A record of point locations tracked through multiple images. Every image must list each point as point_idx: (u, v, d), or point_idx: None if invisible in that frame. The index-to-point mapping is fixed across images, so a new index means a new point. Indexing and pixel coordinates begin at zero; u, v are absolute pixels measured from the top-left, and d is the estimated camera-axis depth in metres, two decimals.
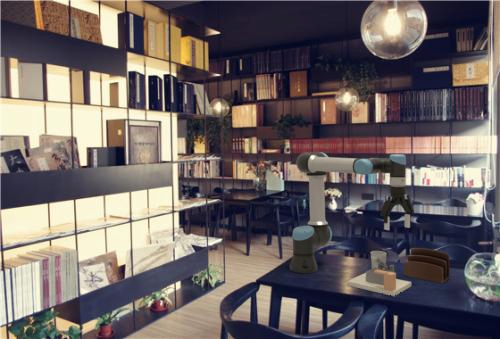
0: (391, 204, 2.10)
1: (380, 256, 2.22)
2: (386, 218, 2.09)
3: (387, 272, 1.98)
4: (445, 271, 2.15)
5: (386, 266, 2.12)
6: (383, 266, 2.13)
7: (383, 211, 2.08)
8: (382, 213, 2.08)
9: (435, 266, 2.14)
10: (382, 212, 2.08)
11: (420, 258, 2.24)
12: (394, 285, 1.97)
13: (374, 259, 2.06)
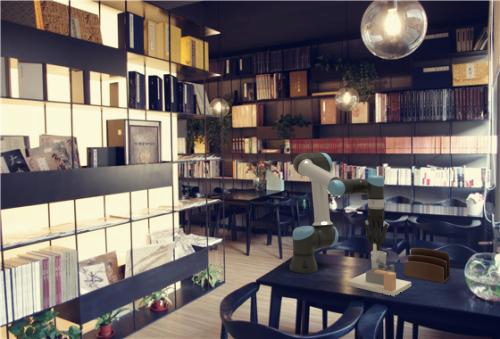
0: None
1: (380, 256, 2.22)
2: (372, 244, 2.06)
3: (387, 272, 1.98)
4: (445, 271, 2.16)
5: (386, 266, 2.12)
6: (383, 266, 2.13)
7: None
8: None
9: (435, 266, 2.14)
10: None
11: (420, 258, 2.24)
12: (394, 285, 1.97)
13: (374, 260, 2.06)
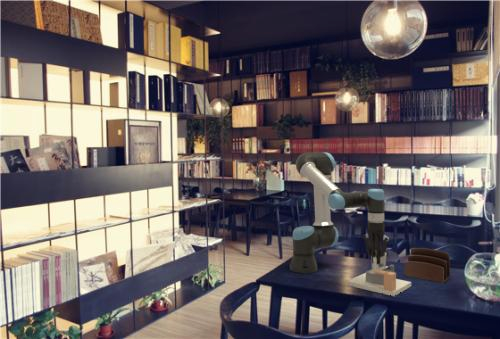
0: None
1: None
2: (372, 258, 2.06)
3: (387, 272, 1.98)
4: (445, 271, 2.16)
5: (386, 269, 2.11)
6: None
7: None
8: None
9: (436, 266, 2.15)
10: None
11: (420, 258, 2.24)
12: (394, 285, 1.97)
13: None
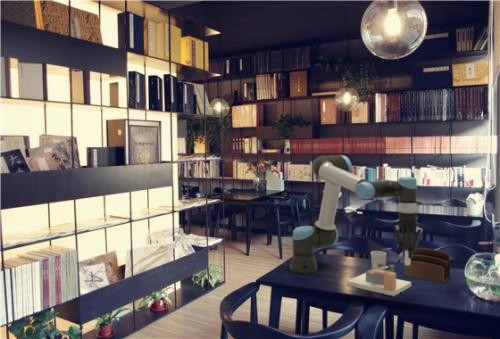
0: None
1: (380, 256, 2.22)
2: (404, 251, 1.92)
3: (387, 272, 1.98)
4: (446, 271, 2.16)
5: (386, 269, 2.11)
6: None
7: None
8: None
9: (436, 266, 2.15)
10: None
11: (421, 258, 2.24)
12: (394, 285, 1.97)
13: None
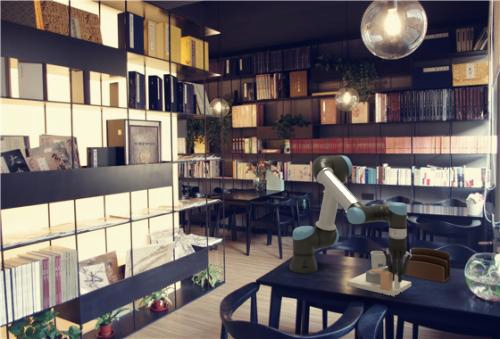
0: None
1: (380, 256, 2.22)
2: (393, 275, 1.96)
3: (384, 271, 1.99)
4: (446, 271, 2.16)
5: (386, 269, 2.11)
6: None
7: None
8: None
9: (436, 266, 2.15)
10: None
11: (421, 258, 2.24)
12: (391, 284, 1.98)
13: None
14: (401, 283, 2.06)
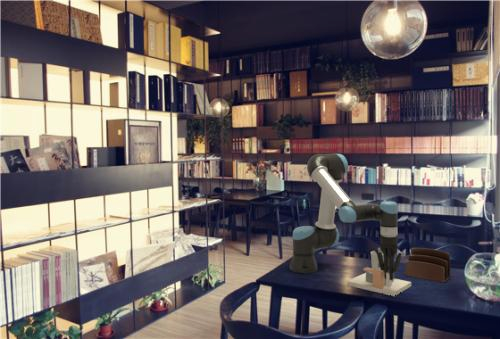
0: None
1: None
2: (385, 273, 1.98)
3: (376, 270, 2.02)
4: (446, 270, 2.16)
5: None
6: None
7: None
8: None
9: (436, 266, 2.15)
10: None
11: (421, 258, 2.24)
12: (383, 282, 2.00)
13: None
14: (401, 283, 2.06)
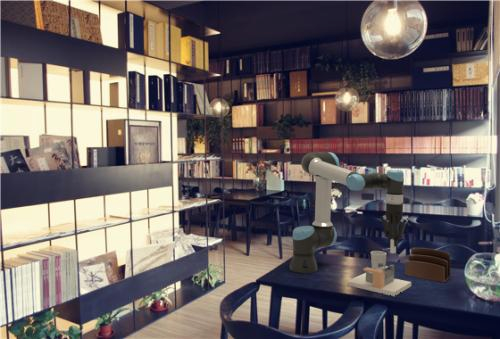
0: None
1: (380, 256, 2.22)
2: (390, 240, 2.03)
3: (376, 270, 2.02)
4: (446, 270, 2.16)
5: (386, 269, 2.11)
6: None
7: None
8: None
9: (436, 265, 2.15)
10: None
11: (421, 258, 2.24)
12: (383, 282, 2.00)
13: None
14: (401, 283, 2.06)
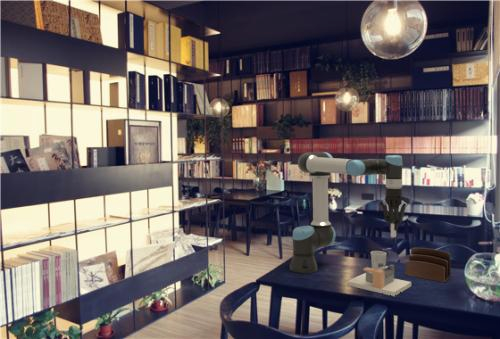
0: None
1: (380, 256, 2.22)
2: (390, 224, 2.06)
3: (376, 270, 2.02)
4: (446, 270, 2.17)
5: (386, 269, 2.11)
6: None
7: None
8: None
9: (437, 265, 2.15)
10: None
11: (421, 258, 2.24)
12: (383, 282, 2.00)
13: None
14: (401, 283, 2.06)
